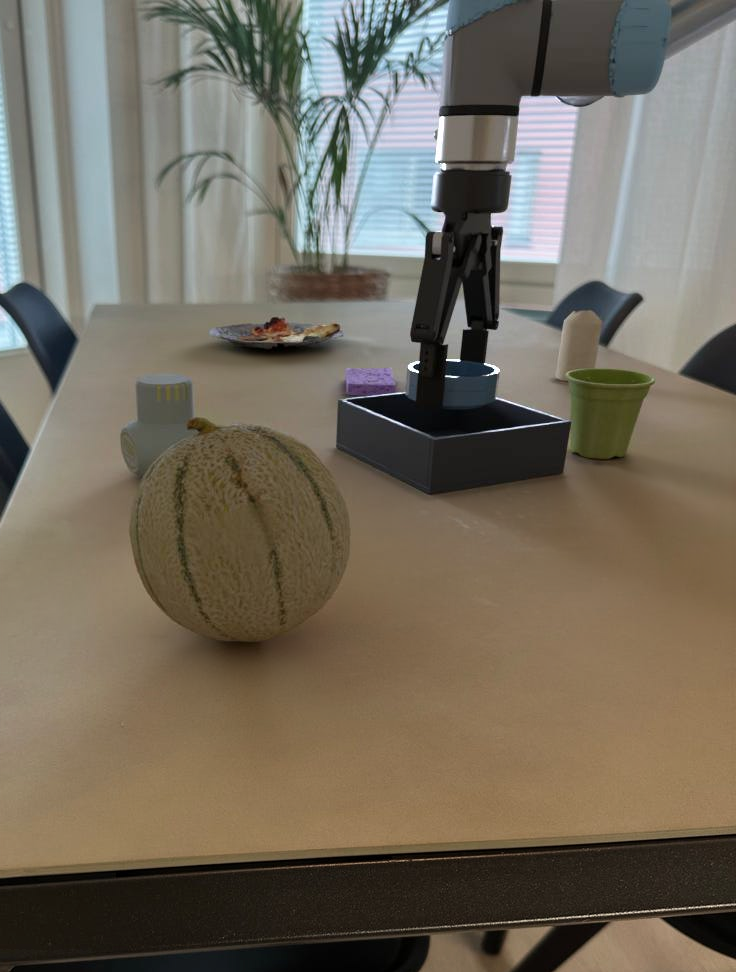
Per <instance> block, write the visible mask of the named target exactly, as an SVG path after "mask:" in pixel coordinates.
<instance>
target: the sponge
mask: <svg viewBox="0 0 736 972" xmlns="http://www.w3.org/2000/svg"><path fill="white" fill-rule="evenodd" d="M392 369H393V368H392V367H384V368H383V367H380V368H379V367H378V368H375V367H374V368H357V367H356V368H355V367H352V368H351V367H346V371H345V383H346V394H347V395H350V396H358V397H365V396H374V395H383V394H392V393H396V388H397V384H396V380H395V377H394V373H393V370H392Z"/></svg>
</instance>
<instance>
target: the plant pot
mask: <svg viewBox="0 0 736 972" xmlns="http://www.w3.org/2000/svg"><path fill="white" fill-rule="evenodd" d="M566 379H567V380H569V381H568V392H569V393H570V421H571V428H570V434H569V450H570V452H571V453H573V454H575V453H577V454H579V455H580V456H581V457H584V458H586V459H598V460H610V459H612V458H614V457H617V458H622V457H624V456H626V454H627V452H628V448H629V445H630V442H631V439H632V436H633V433H634V429H635V427H636V424H637V422H638V418H639V415H640V412H641V409H642V406H643V403H644V399H645V398H647V396H648V394H649V391H650V388H651V386H653V385H654V384H655V383H656V378H655V376H653V375H652V374H648V373H645V372H640V371H635V370H634V371H633V370H628V369H622V368H621V369H620V368H608V367H607V368H603V367H602V368H599V367H598V368H597V367H595V368H591V369H579V370H573V371H570V372H567V373H566Z"/></svg>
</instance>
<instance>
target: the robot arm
mask: <svg viewBox="0 0 736 972" xmlns="http://www.w3.org/2000/svg"><path fill="white" fill-rule="evenodd" d="M446 16H447V17H446V24H445V32H444V35H443V36H444V37H443V49H442V51H443V52H442V67H441V80H440V92H439V105H438V106H439V109H438V124H437V129H435V130H434V133H433V138H434V139H435V141H436V145H435V158H434V161H435V163H436V164H440V170H435V173H434V174H432V175H433V177H432V186H431V187H432V188H431V197H430V199H431V200H430V208H431V210H432V211H433V212H435V213H443V216H444V218H443V222H442V226H441V229H440V231H433V230H432V231H430V230H429V231H427V233H426V235H425V243H424V244H425V245H424V259H423V264H422V268H421V269H422V270H421V274H420V279H419V284H418V290H417V295H416V300H415V305H414V311H413V315H412V322H411V326H410V331H409V332H410V333H409V337H410V341H411V342H412V343H417V344H420V345H419V359H418V362H419V368H418V380H417V392H416V404H415V407H420V408H426V409H433V410H441V409H442V403H443V393H444V383H445V373H446V363H447V360H448V351H449V343H445V339H446V336H447V334H448V329H449V326H450V323H451V320H452V317H453V313H454V311H455V306H456V304H457V300H458V297H459V295H460V290H461V288H462V291H463V292H462V293H463V300H464V308H465V316H466V325H467V328H463V329H462V334H461V343H460V344H461V345H460V353H459V354H460V355H459V360H463V361H473V362H480V363H485V364H486V358H487V351H488V342H489V334H490V333H489V332H490V330H491V331H496V330H498V328H499V325H500V321H499V319H500V301H501V299H500V298H501V297H500V296H501V294H500V293H501V292H500V291H501V250H502V242H503V235H504V227H503V225H492V214H502V213H505V212H507V210H508V208H509V201H510V194H511V186H512V185H511V184H512V176H513V174H511V171H510V170H508V171H507V169H508V165H512V164H513V163H514V162H515V155H516V146H517V140H518V139H517V138H518V127H519V121H520V120H519V119H520V117H519V116H520V104H521V102H522V101H521V100H522V97H555V98H556V99H557V100H559V102H560V103H562V104H563V105H567V106H572V107H575V108H583V107H588V106H590V105H592V104H594V103H596V102H598V101H600V100H602V99H603V98H605V97H614V98H624V97H626V96H628V97H629V96H639V95H640V96H642V95H647V94H649V93H651V92H652V91H653V90H654V89H655V88H656V86H657V85H658V83H659V81H660V78H661V75H662V72H663V68H664V65H665V61H666V60H668V59H670V58H671V57H673V56H675V55H676V54H678V53H680V52H682V51H684V50H685V49H687V48H689V47H691V46H693V45H694V44H696V43H698V42H699V41H701V40H703V39H705V38H707V37H708V36H710V35H712V34H713V33H715V32H717V31H719V30H720V29H722V28H724V27H726V26H728V25H729V24H731V23H733V22H735V21H736V0H449V1H448V9H447V15H446Z"/></svg>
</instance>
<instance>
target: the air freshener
mask: <svg viewBox="0 0 736 972" xmlns="http://www.w3.org/2000/svg"><path fill="white" fill-rule="evenodd" d="M134 383H135V400H136V401H135V402H136V403H135V404H136V419H133V420H132V421H130V422H129V423H127V424H126V425H125V426H124V427H122V429H121V431H120V434H119V435H120V436H119V440H120V441H119V443H120V449H121V455H122V457H123V460H124V463H125V465H126V467H127V468H128V471H130V472H131V473H132V474H134V475H136V476H138V477H140V478H141V479H142V478H143V476H144V475H145V474H146V472H147V470H148V468H149V467H150V466H151V465H152V463H153V462H154V461H155V460H156V459H157V458H158V457H159V456H160V455H161V454H162V453H163V452H164V451H166V450H167V449H168V448H169V447H171V446H173V445H174V444H176V443H178V442H179V441H181V440H183V439H185V438H187V437H190V436H192V435H194V434H196V433H198V431H197V430H187V423H188V421H189V420H190V419H191V418H195V403H194V380H193V379H191V378H190V377H189V375H184V374H180V373H179V374H177V373H154V374H147V375H143V376H140V377H139V378H138V379H136V381H135V382H134Z"/></svg>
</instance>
